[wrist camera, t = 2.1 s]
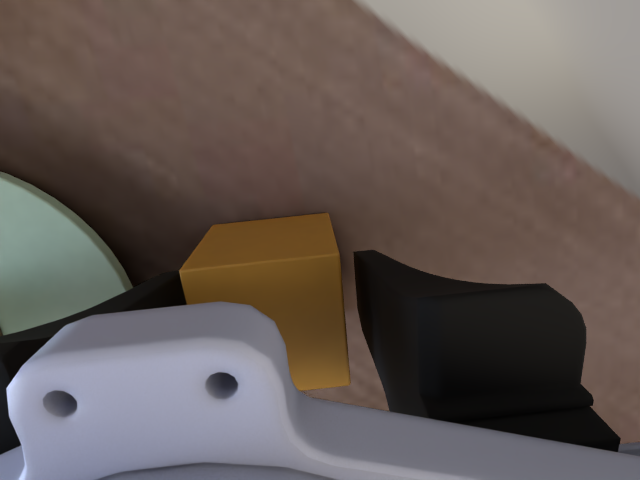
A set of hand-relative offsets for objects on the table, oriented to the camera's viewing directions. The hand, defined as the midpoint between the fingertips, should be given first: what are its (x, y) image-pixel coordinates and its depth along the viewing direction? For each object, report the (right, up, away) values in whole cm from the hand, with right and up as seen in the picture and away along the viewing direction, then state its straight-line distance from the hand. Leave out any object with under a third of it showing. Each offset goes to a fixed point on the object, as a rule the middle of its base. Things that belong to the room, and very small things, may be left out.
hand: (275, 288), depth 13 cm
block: (0, 0, +1) cm, 1 cm away
